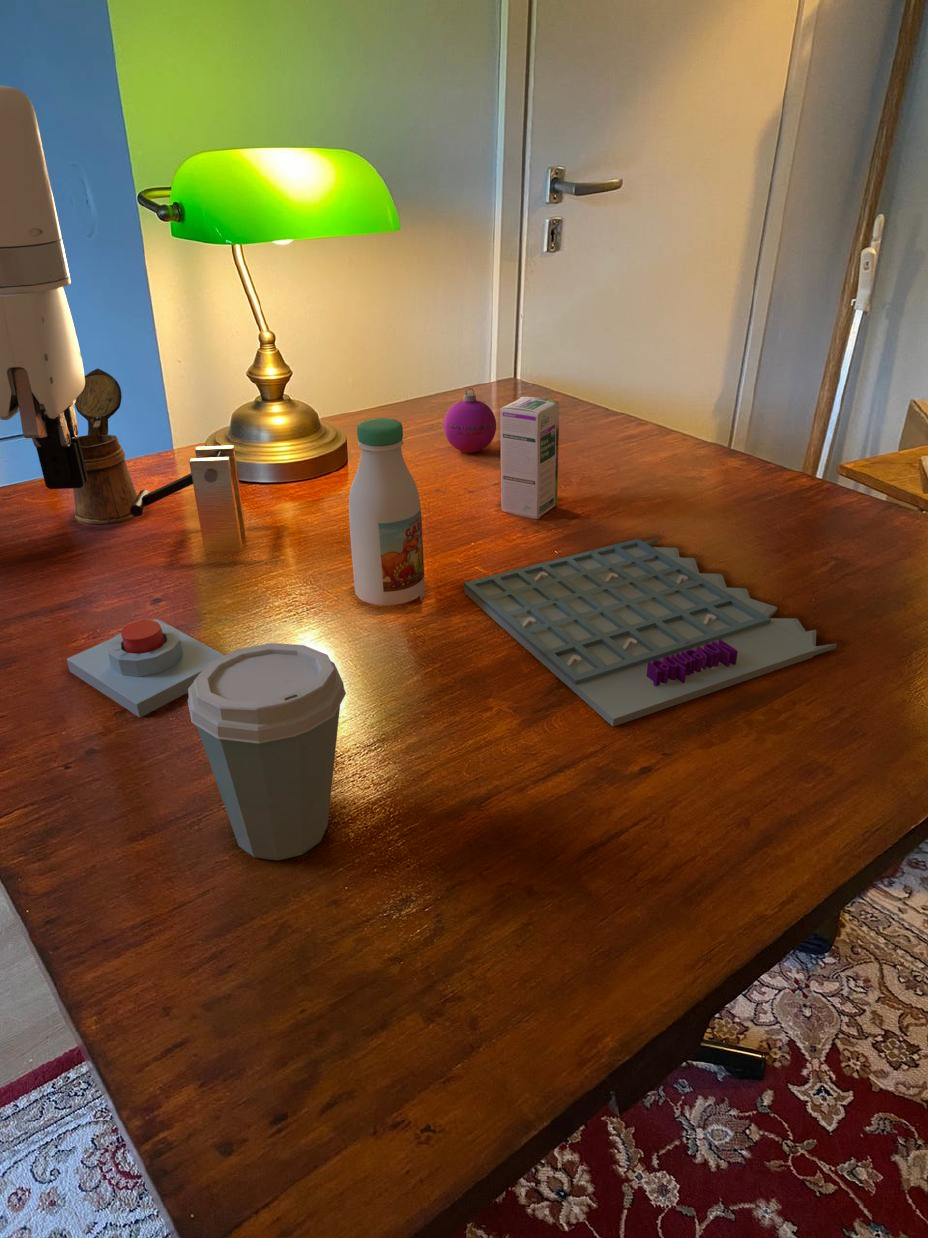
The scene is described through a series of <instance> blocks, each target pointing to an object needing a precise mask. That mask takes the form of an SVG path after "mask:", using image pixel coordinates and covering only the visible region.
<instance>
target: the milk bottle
mask: <svg viewBox="0 0 928 1238" xmlns="http://www.w3.org/2000/svg"><path fill="white" fill-rule="evenodd" d="M403 428H404V427H403V424H402V422H400V421H399V420H397V419H394V418H388V417H374V418H369V419H366V420H362V421H361V422H359V423H358V424H357V425H356V436H357V440H358V443H357V446H358V448H360V457H359V462H358V467H357V470H356V471H355V475H354V477H353V480H352V483H351V486H350V489H349V496H348V524H349V535H350V536H349V537H350V550H351V562H352V573H353V584H354V585H353V586H354V593H355V595H356V597H357V598H358V599H359V600H361V601H363V602H365V603H368V604H371V605H376V606H396V605H401V604H406V603H409V602H412V601H414V600H416V599H418V598H419V600H420V602H422V601H423V599H424V597H425V564H424V563H425V562H424V541H423V520H422V508H421V506H422V505H421V499H420V493H419V490H418V487H417V484H416V481H415V480H414V478H413V476H412V474H411V472H410V470H409V468H408V466H407V463H406V461H405V459H404V455H403V452H402V451H403V450H402V446H403V445H404V440H403V438H404V429H403Z"/></svg>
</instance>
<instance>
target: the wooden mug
mask: <svg viewBox="0 0 928 1238" xmlns="http://www.w3.org/2000/svg"><path fill="white" fill-rule="evenodd" d="M84 376H85V386H84V389H83V391H82V392H81V394H80V395H79V396H78V397H77V398H76V402H75V404H74V408H75V410H76V412H78V414H79V415H81V416H82V417H83V418H84V419H85V420H86V421H87V434H85V435H80V436H79V435H78V437H73V439H79V440H80V445H81V449H82V454H83V458H84V463H85V467H86V472H87V476H88V480H87V481H86V482H85V483H84V485H83V486H82V487H81V488H72V489H73V500H74V510H73V514H74V519H75V520H76V521H77V522H78V523H80V524H83V525H89V526H108V525H114V524H119V523H123V522H127V521H129V520H132V519H134V518H136V516H133V515H132V514H131V512H130V508H131V506H132V504H133V503H134V501H135V499H136V498H137V496H138V493H137V490H136V488H135V485H134V482H133V479H132V476H131V474H130V470H129V468H128V465H127V464H128V463H127V461H126V459H125V458H126V454H125V451H124V448H123V446H122V445H121V444H120V442H119V439H118V437H117V435H114V434H109V419H110V418H111V417H112V416H113V415H115V414H116V412H117V411H118V410H119V409H120V408H121V404H122V397H123V396H122V395H123V394H122V389H121V386H120V384H119V382H118V381H117V380H116V378H115V377H113V375H111V374H109V373H108V372H107V371H104V370H103V369H100V368H96V369H93V370H92V371H90V372H88V373H87V374H85V375H84Z"/></svg>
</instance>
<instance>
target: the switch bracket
mask: <svg viewBox="0 0 928 1238" xmlns="http://www.w3.org/2000/svg"><path fill="white" fill-rule="evenodd" d="M220 451H221V453H222V454H223V456H224V457H218V458H207V457H209V456H211V455H213V454H216V453H218V452H220ZM194 452H195V457H196V458H190V459H189V462H188V463H189V467H190V473H191V475H192V480H193V484H192V485H193V491H194V496H195V503H196V509H197V515H198V521H199V526H200V532H201V539H202V544H203V550H204V553H205V554H212V553H213V554H214V553H215V554H217V553H234V552H242V551H243V548H244V547H243V542H242V541H243V540H242V539H244V538H247V527H246V520H245V513H244V507H243V506H244V505H243V499H242V492H241V486H240V478H239V472H238V465H237V458H236V450H235V445H215V446H214V445H213V446H211V445H210V446H196V447H195V449H194Z"/></svg>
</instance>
